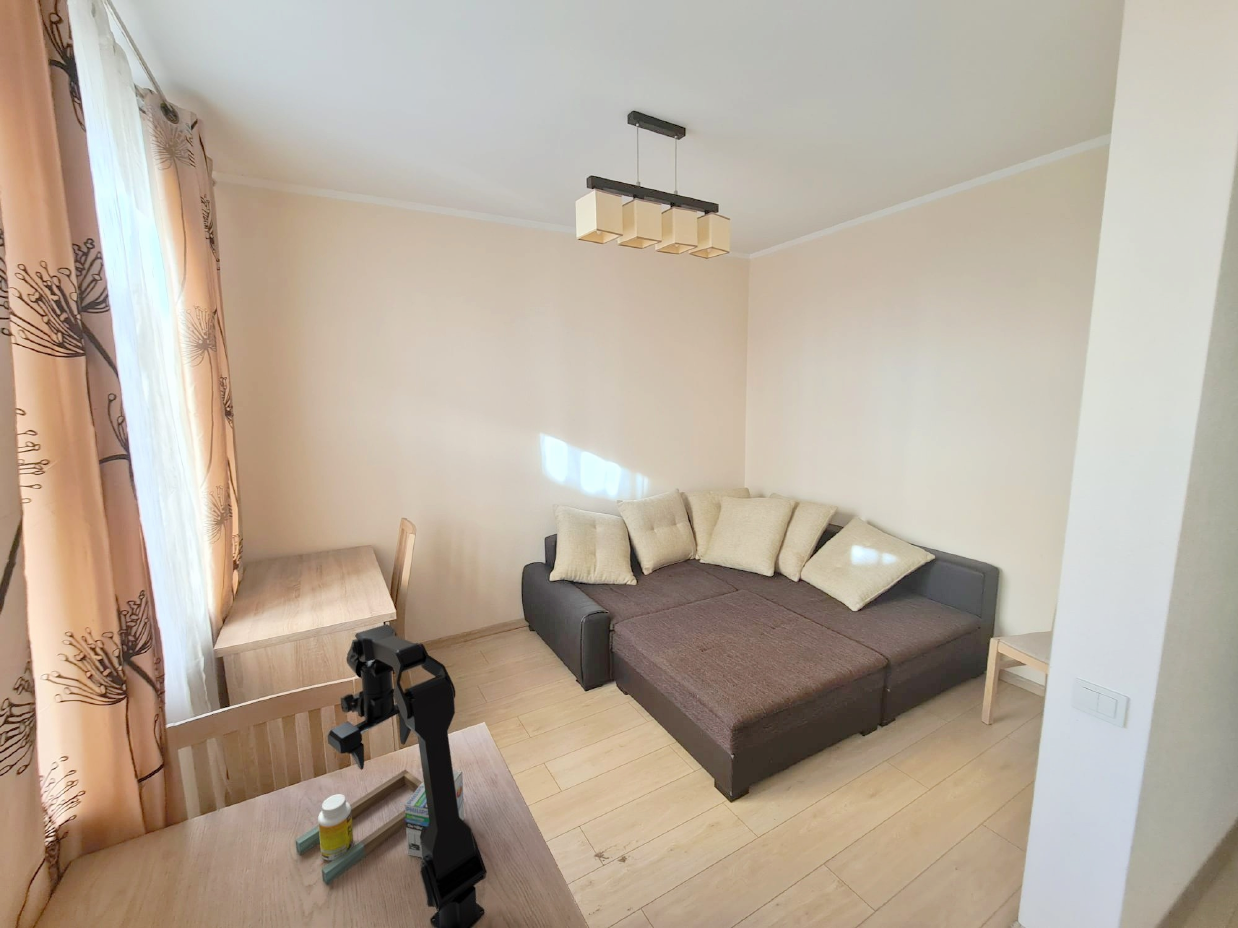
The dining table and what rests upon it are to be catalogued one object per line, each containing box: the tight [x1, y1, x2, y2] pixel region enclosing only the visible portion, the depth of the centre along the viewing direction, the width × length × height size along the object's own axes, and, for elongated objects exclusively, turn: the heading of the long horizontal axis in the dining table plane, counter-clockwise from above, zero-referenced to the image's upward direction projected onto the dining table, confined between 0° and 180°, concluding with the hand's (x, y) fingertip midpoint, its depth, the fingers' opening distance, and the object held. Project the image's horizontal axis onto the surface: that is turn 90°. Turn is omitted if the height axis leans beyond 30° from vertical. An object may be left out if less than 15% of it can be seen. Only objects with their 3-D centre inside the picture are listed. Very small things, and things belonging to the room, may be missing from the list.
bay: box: [295, 769, 423, 886], centre depth 105 cm, size 12×23×2 cm, turn 144°
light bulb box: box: [404, 769, 465, 859], centre depth 102 cm, size 11×7×11 cm, turn 168°
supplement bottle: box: [317, 793, 354, 861], centre depth 99 cm, size 6×6×10 cm
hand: (382, 755), depth 108 cm, fingers open, 9 cm apart
